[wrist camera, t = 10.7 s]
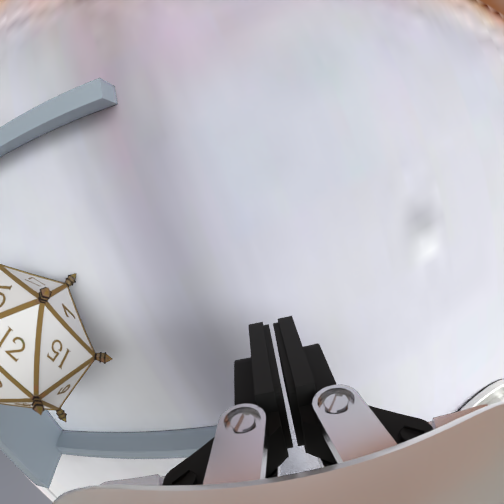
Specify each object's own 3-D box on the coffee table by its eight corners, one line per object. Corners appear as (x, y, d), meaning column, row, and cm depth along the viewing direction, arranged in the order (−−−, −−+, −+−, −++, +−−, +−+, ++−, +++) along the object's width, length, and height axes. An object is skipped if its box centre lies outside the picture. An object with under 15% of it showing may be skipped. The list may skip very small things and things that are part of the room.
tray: (114, 86, 12) (56, 54, 7) (220, 433, 20) (222, 500, 14) (-61, 182, 12) (-118, 199, 6) (56, 436, 19) (36, 485, 14)
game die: (75, 306, 20) (5, 411, 13) (9, 213, 14) (-87, 331, 8) (164, 338, 16) (78, 489, 9) (81, 210, 11) (-70, 413, 4)
